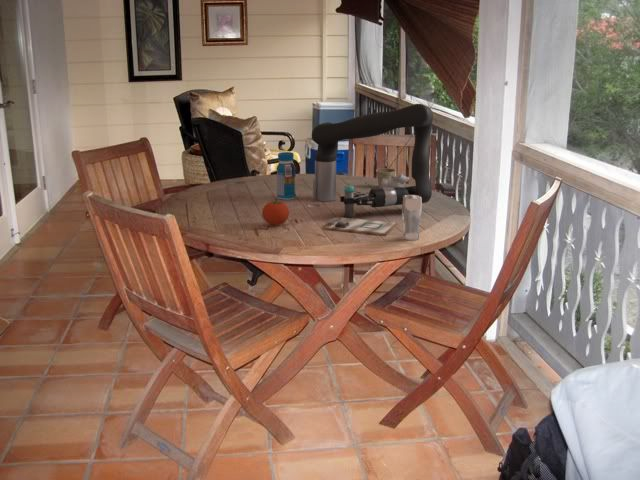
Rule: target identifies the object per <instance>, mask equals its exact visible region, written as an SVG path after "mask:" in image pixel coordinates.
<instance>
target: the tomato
mask: <svg viewBox="0 0 640 480" xmlns="http://www.w3.org/2000/svg"><path fill="white" fill-rule="evenodd" d="M261 210H262V211H261V215H262V216H261V217H262V219H263V220H264V222H266V223H267V224H269V225H272V226H281V225H283V224H285V222H287V221H288V219H289V216H290V210H289V207H288V206H287V204H285V203H284V202H283V201H277V200H276V199H274V201H273V200H271V201H269V202H268V203H266V204H264V206H263V208H262V209H261Z"/></svg>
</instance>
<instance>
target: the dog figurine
mask: <svg viewBox="0 0 640 480" xmlns="http://www.w3.org/2000/svg"><path fill="white" fill-rule="evenodd" d="M409 180H410V177H409V176H406V175H404V172H400V173H399V174H398V175H395V174H394V175H393V176H391V180H387V179H382V180H381V184H380V186H381V188H396V187H405V184H406V183H408V182H409Z"/></svg>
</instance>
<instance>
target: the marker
mask: <svg viewBox="0 0 640 480" xmlns="http://www.w3.org/2000/svg"><path fill="white" fill-rule="evenodd" d="M354 193H355V186H354V185H345V186H344V196H345V199H346V198H353V199H354ZM354 205H355V204H354V203H353V204H344V211H343V212H344V217H343V218H353V219H354V217H355V214H354V212H355V211H354V210H355V206H354Z"/></svg>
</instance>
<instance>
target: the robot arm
mask: <svg viewBox="0 0 640 480" xmlns="http://www.w3.org/2000/svg"><path fill="white" fill-rule="evenodd" d="M433 120H434V113H433V111H432V109H431V107H429V106H427V105H426V104H423V103H414V104H411V105H408V106H405V107H402V108H398V109H395V110H389V111H388V110H385V111H381V112H373V113H368V114H363V115H359V116H355V117H353V118H351V119H347V120H344V121H341V122H337V123H335V122H334V123H332V122H329V121H328V122H323V123H319V124H317V125H316V126H315V127H314V128H313V129H312V132H311V138H312V140H313V143H314V144H317V150H316V152H315V154H314V177H313V179H312V180H313V181H312V185H313V187H312V188H313V189H312V190H313V192H312V193H313V200H315V201H317V202H318V201H319V202H333V201H335V200H337V155H338V151H339V142H340V141H345V140H352V139H353V140H355V139H356V140H357V139H364V138H371V137H375V136H381V135H383V134H386V133H388V132H391V131H393V130H396V129H402V128H413V130H414V144H413V149H412V154H411V178H412V179H413V180H414V183H415V185H411V186H404V187H396V188H379V187H378V188H377V187H376V188H375V187H374V188H371V189H370V190H369V192H368V193H367V192H360V191H359V192H354V199H353V198H346V199H345V195H344V196H343V195H342V196H340V197H339V201H340V203H343V204H344V205H345V204H353V203H354V205H356V206H370V207H371V208H383V207H385V208H386V207H391V206H400V205H401V206H402V200H403V196H404V195H419V196H421V197H422V204H426V203H428V202H430V200H431V198H432V195H433V189H432V183H431V178H430V140H431V131H432V127H433Z"/></svg>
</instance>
